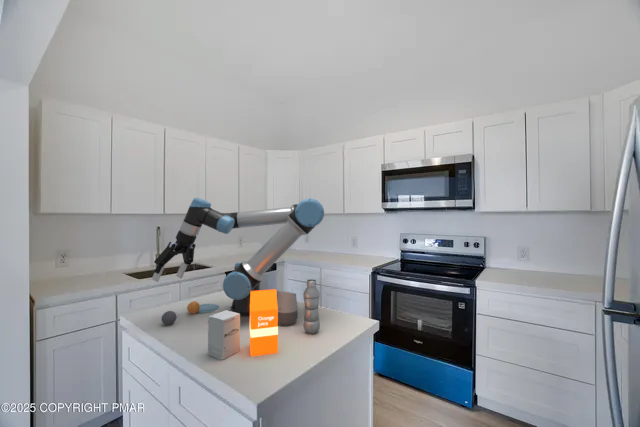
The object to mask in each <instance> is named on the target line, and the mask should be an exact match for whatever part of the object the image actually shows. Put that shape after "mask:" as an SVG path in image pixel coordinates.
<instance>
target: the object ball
mask: <svg viewBox="0 0 640 427" xmlns="http://www.w3.org/2000/svg"><path fill="white" fill-rule="evenodd" d="M200 305H201V304H200V303H199V302H198V301H193V300H192V301H191V302H190V303H189V302H188V304H187V307H186V311H187V312H188V314H191V315H194V314H195V313H197V312H198V311H199V309H200ZM195 315H196V314H195Z"/></svg>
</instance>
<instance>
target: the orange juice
mask: <svg viewBox="0 0 640 427" xmlns="http://www.w3.org/2000/svg"><path fill="white" fill-rule="evenodd" d="M278 325H279V324H278V306H277V289H276V288H274V289H260V290H258V291H251V292H250V316H249V352H250V357H257V356H263V355H271V354H278V353H279V343H278V342H279V326H278Z"/></svg>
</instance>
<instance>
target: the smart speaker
mask: <svg viewBox="0 0 640 427" xmlns="http://www.w3.org/2000/svg"><path fill="white" fill-rule="evenodd" d="M276 294H277V306H278V325H281V326H285V327H286V326H292V325H294V324H295V323H296V322H297V320H298V316H299V315H298V314H299V312H298V309H299V308H298V302H297V293H295V292H290V291H282V290H276Z"/></svg>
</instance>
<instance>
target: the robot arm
mask: <svg viewBox="0 0 640 427" xmlns="http://www.w3.org/2000/svg"><path fill="white" fill-rule="evenodd" d="M211 206H212V203H211V202H210V201H207V200H205V199H203V198H200V197H193V198H192V201H191V203H190V205H188V209H187V212H186V214H185V216H184V218H183V221H182V223H181V225H180V228H179V230H177V234H176V236H175V239H176V241H175V242H172V241H169V242H168V244H167V246H166V247H165V249H163V251H162V252H160V254H159V255H158V256H157V258H155V260H154V261H153V263H154V264H155V265H156V267H155V269H154V273H153V275H152V277H151V280H153V281H154V282H156V283H157V282H160V281H159V280H160V278H161V276H162V274H163V272H164V270H165V268H166V267H165V265H166V264H167V263H168V262H170V261H171V259H173V258H174V257H175V256H178V255H180V254H182V259H183V261H182V262H181V264H180V266H179V267H178V270H177V272H176V275H175V276H176V277H177V278H180V279H183V277H184V274H185V272H186V270H187V268H188V266H191V265H192V263H194V256H195V255H194V254H195V247H196V246H197V245H196V243H195V241H196V239H197V236H199V232H200V230H201V228H202V227H203V225H204V226H207V227H208V228H210V229H213V230H215V231H217V232H219V233H221V234H224V235H225V234H226V235H227V234H229V233H230V232H231V231H232V230H233V229H242V228H252V227H262V226H271V225H273V226H274V225H281V224H282V226H281V227H280V228H279V229H278V230H277V231H276V232H275V233H274V235H272V236H271V237H270V238H269V239H268V240H267V241H266V242H265V243H264V244H263V245H262V246H261V247H260V248H259V249H258V250H257V251H256V252H255V253H254V254H253V255H252V256H251V257H250V258H249V259H248V260H242V261H240V262H236V263H235V264H234V270H232V271H231V272H230V273H228V274H227V275H226V276H225V278H224V280H223V281H222V288H223V289H222V290H223V291H224V293H225V296H227V297H228V298H229V299H231V300H232V303H231V306H230V311H231V312H236V313H239V314H240V317H250V292H251V291H258V290H261V282H262V281H263V278H264V277H263V275H264V274H265V273H266V272H267V271H268V270H269V269H270V268H271V267H272V266H273V265H274V264H275V263H276V262H277V261H278V260H279V259H280V258H281V257H282V256H283V255H284V254H285V253H286V252H287V251H288V250H289V249H290V248H291V247H292V246H293V245H295V243H296V242H297V240H299V239H300V238H301V237H302V236H307V235H308V234H310V232H312V230H314V229H315V228H316V226H318V225H319V224H321V223H322V221H323V219H324V218H325V217H324V216H325V209H324V207H323V205H322V204H321V202H319V201H318V200H317V199H315V198H311V197H310V198H305V199H302V200H300V202H299V203H297V204H292V205H291V206H287V207H277V208H267V209H266V208H265V209H258V210H248V211H239V212H237V211H236V212H220V211H218V210H215V209H213V208H211Z"/></svg>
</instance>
